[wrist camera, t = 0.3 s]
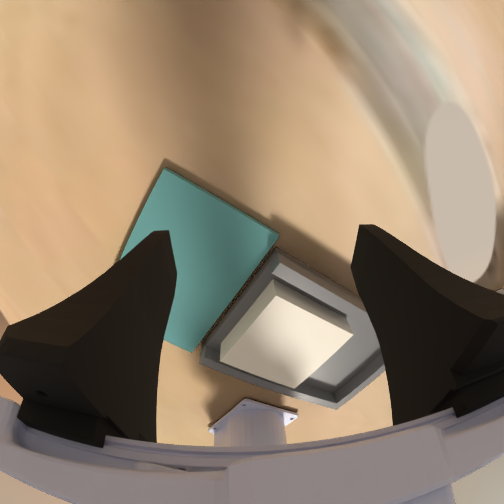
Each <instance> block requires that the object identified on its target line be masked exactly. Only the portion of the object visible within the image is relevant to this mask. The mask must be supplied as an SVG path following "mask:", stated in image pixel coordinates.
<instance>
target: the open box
mask: <svg viewBox="0 0 504 504" xmlns="http://www.w3.org/2000/svg"><path fill="white" fill-rule="evenodd" d="M273 279H274V280H276V281H278V282H280V283H282V284H283V285H285V286H287V287H289V288H291V289H293V290H294V291H296V292H298V293H300V294H302V295H304V296H306V297H307V298H309V299H311V300H313V301H315V302H317V303H319V304H320V305H322V306H324V307H326V308H328V309H330V310H332V311H333V312H335V313H337V314H339V315H341V316H343V317H345V318H346V319H347V321H348V323H349V326H350V328H351V330H352V332H353V336H352V337H351V338H350V339H349V340H348V341H347V342H346V343H345V344H344V345H343V346H341V347H340V348H339V349H338V350H337V351H336V352H335V353H334V354H333V355H332V356H331V357H330V358H329V359H328V360H327V361H326V362H324V363H323V364H322V365H321V366H320V367H319V368H318V369H317V370H316V371H314V372H313V373H312V374H311V375H310V376H309V377H308V378H306V379H305V380H304V381H303V382H302V383H301V384H299V385H298V386H297V387H296V388H295V389H294V388H291V387H288V386H285V385H282V384H279V383H276V382H273V381H271V380H268V379H265V378H262V377H260V376H257V375H254V374H251V373H249V372H246V371H244V370H241V369H238V368H236V367H233V366H231V365H228V364H226V363H223V362H221V361H220V350H221V343H222V341H223V340H224V339H225V338H226V337H227V335H228V334H229V333H230V332H231V330H232V329H233V328H234V327H235V326H236V324H237V323H238V322H239V321H240V319H241V318H242V317H243V316H244V315H245V313H246V312H247V311H248V310H249V308H250V307H251V306H252V305H253V303H254V302H255V301H256V300H257V298H258V297H259V296H260V295H261V293H262V292H263V291H264V290H265V288H266V287H267V286H268V285H269V283H270V282H271V281H272V280H273ZM199 364H202V365H204V366H207V367H209V368H211V369H214V370H216V371H219V372H222V373H224V374H227V375H229V376H232V377H235V378H237V379H240V380H243V381H245V382H248V383H251V384H254V385H257V386H259V387H262V388H265V389H268V390H271V391H274V392H277V393H280V394H284V395H287V396H290V397H293V398H296V399H300V400H303V401H307V402H310V403H314V404H317V405H321V406H324V407H328V408H332V409H336V410H337V409H338V408H339V407H341V406H342V405H343V404H345V403H346V402H347V401H349V400H350V399H351V398H353V397H354V396H355V395H356V394H358V393H359V392H360V391H361V390H363V389H364V388H365V387H366V386H367V385H369V384H370V383H371V382H372V381H373V380H375V379H376V378H377V377H378V376H379V375H380V374H382V373H383V372H384V371H385V365H384V361H383V357H382V353H381V349H380V345H379V342H378V339H377V336H376V333H375V330H374V328H373V325H372V323H371V321H370V318H369V316H368V314H367V311H366V309H365V307H364V304H363V302H362V300H361V298H360V297H359V296H357V295H356V294H354V293H352V292H351V291H349V290H347V289H346V288H344V287H342V286H341V285H339V284H337V283H336V282H334V281H332V280H331V279H329V278H327V277H326V276H324V275H322V274H321V273H319V272H317V271H316V270H314V269H312V268H311V267H309V266H307V265H306V264H304V263H302V262H301V261H299V260H297V259H296V258H294V257H292V256H291V255H289V254H287V253H286V252H284V251H282V250H281V249H279V248H277V247H276V248H275V249H274V250H273V252H272V253H271V254H270V256H269V257H268V258H267V260H266V261H265V262H264V264H263V265H262V266H261V268H260V269H259V270H258V272H257V273H256V274H255V276H254V277H253V278H252V280H251V281H250V282H249V283H248V285H247V286H246V287H245V289H244V290H243V291H242V293H241V294H240V295H239V297H238V298H237V299H236V301H235V302H234V303H233V305H232V306H231V307H230V308H229V310H228V311H227V312H226V314H225V315H224V316H223V318H222V319H221V320H220V321H219V323H218V324H217V325H216V327H215V328H214V329H213V331H212V332H211V333H210V334H209V336H208V337H207V338H206V340H205V341H204V342H203V343H202V347H201V355H200V362H199Z"/></svg>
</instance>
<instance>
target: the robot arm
mask: <svg viewBox="0 0 504 504" xmlns="http://www.w3.org/2000/svg"><path fill="white" fill-rule="evenodd" d="M351 270H352V274H353V277H354V281H355V284H356V288H357V290H358V293H359V295H360V297H361V300H362V302H363V304H364V307H365V309H366V311H367V314H368V316H369V318H370V321H371V323H372V325H373V328H374V330H375V333H376V336H377V339H378V342H379V345H380V349H381V353H382V357H383V361H384V365H385V370H386V375H387V380H388V386H389V393H390V399H391V408H392V420H393V426H391V427H387V428H383V429H379V430H374V431H370V432H365V433H360V434H355V435H350V436H345V437H339V438H333V439H326V440H319V441H312V442H303V443H294V444H287V441H286V433H285V426H286V425H288V424H289V423H291V422H292V421H293V420H295V419H296V418H297V417H298V413H295V412H291V411H287V410H284V409H280V408H277V407H273V406H270V405H267V404H263V403H260V402H257V401H254V400H251V399H243V400H242V401H241V402H240V403H239V404H238V405H236V406H235V407H234V408H233V409H232V410H230V411H229V412H228V413H227V414H226V415H225V416H223V417H222V418H221V419H220V420H218V421H217V422H216V423H215V424H214V425H212V426H211V427H210V428H209V430H208V431H209V432H211V433H214V434H215V435H214V447H209V446H187V445H173V444H163V443H157V439H156V407H157V387H158V373H159V364H160V355H161V349H162V344H163V339H164V335H165V331H166V327H167V323H168V320H169V316H170V312H171V308H172V304H173V300H174V296H175V289H176V281H177V269H176V264H175V259H174V254H173V249H172V243H171V238H170V233H169V230H158V231H153V232H151V233H150V234H149V235H148V236H146V237H145V238H144V239H143V240H142V241H141V242H140V243H138V244H137V245H136V246H135V247H134V248H133V249H132V250H131V251H130V252H128V253H127V254H126V255H125V256H124V257H123V258H122V259H120V260H119V261H118V262H117V263H116V264H114V265H113V266H112V267H111V268H110V269H108V270H107V271H106V272H105V273H104V274H102V275H101V276H100V277H98V278H97V279H96V280H94V281H93V282H92V283H90V284H89V285H87V286H86V287H84V288H83V289H81V290H80V291H78V292H77V293H75V294H73V295H72V296H70V297H68V298H67V299H65V300H63V301H62V302H60V303H58V304H56V305H54V306H53V307H51V308H49V309H47V310H45V311H43V312H41V313H39V314H36V315H34V316H32V317H29V318H27V319H24V320H22V321H20V322H17V323H15V324H12V325H9V326H8V327H7V328H6V330H5V332H4V334H3V336H2V338H1V340H0V374H1V375H2V376H3V377H4V379H6V381H7V382H8V383H9V384H10V385H11V386H12V387H13V388H14V389H15V390H16V391H17V392H18V393H19V394H20V395H21V396H22V397H23V401H22V404H21V406H20V405H19V404H17V403H16V402H14V401H12V400H10V399H7V398H4V397H1V396H0V470H1V471H2V472H4V473H6V474H8V475H10V476H12V477H13V478H15V479H18V480H19V481H22V482H23V483H25V484H27V485H29V486H32V487H34V488H36V489H38V490H40V491H43V492H45V493H47V494H50V495H52V496H54V497H57V498H60V499H62V500H65V501H68V502H70V503H73V504H456V503H455V499H454V495H453V491H452V487H451V483H453V482H455V481H457V480H459V479H461V478H463V477H465V476H467V475H469V474H471V473H473V472H474V471H476V470H478V469H480V468H482V467H483V466H485V465H487V464H488V463H490V462H492V461H493V460H495V459H497V458H498V457H500V456H501V455H503V454H504V294H501V293H498V292H495V291H492V290H489V289H487V288H484V287H482V286H479V285H477V284H474V283H472V282H470V281H468V280H465V279H463V278H461V277H459V276H457V275H455V274H453V273H451V272H450V271H448V270H446V269H444V268H442V267H440V266H439V265H437V264H435V263H434V262H432V261H430V260H429V259H427V258H426V257H424V256H422V255H421V254H419V253H418V252H416V251H415V250H413V249H412V248H410V247H409V246H407V245H406V244H404V243H403V242H401V241H400V240H398V239H397V238H395V237H394V236H392V235H391V234H389V233H388V232H386V231H384V230H383V229H381V228H379V227H378V226H376V225H373V224H369V225H359V229H358V234H357V240H356V245H355V250H354V254H353V259H352V264H351Z"/></svg>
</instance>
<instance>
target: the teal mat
mask: <svg viewBox="0 0 504 504" xmlns="http://www.w3.org/2000/svg"><path fill="white" fill-rule="evenodd" d="M158 230H169V233H170V238H171V243H172V249H173V254H174V259H175V264H176V269H177V281H176V289H175V296H174V300H173V304H172V308H171V312H170V316H169V320H168V323H167V327H166V331H165V335H164V339H163V340H165V341H167V342H169V343H172V344H174V345H176V346H178V347H180V348H183V349H185V350H187V351H189V352H191V353H192V352H193V351H194V349H195V348H196V347H197V345H198V344H199V343H200V341H201V340H202V339H203V337H204V336H205V335H206V333H207V332H208V331H209V330H210V328H211V327H212V326H213V324H214V323H215V322H216V320H217V319H218V318H219V316H220V315H221V314H222V312H223V311H224V310H225V308H226V307H227V306H228V304H229V303H230V302H231V301H232V299H233V298H234V297H235V295H236V294H237V293H238V291H239V290H240V289H241V287H242V286H243V285H244V283H245V282H246V281H247V279H248V278H249V277H250V275H251V274H252V273H253V271H254V270H255V269H256V267H257V266H258V265H259V263H260V262H261V261H262V259H263V258H264V257H265V255H266V254H267V252H268V251H269V250H270V248H271V247H272V246H273V244H274V243H275V242H276V240H277V239H278V238H279V234H278V233H277V232H275V231H274V230H272V229H270V228H269V227H267V226H265V225H264V224H262V223H260V222H259V221H257V220H255V219H254V218H252V217H250V216H249V215H247V214H245V213H244V212H242V211H240V210H239V209H237V208H235V207H234V206H232V205H230V204H228V203H227V202H225V201H223V200H222V199H220V198H218V197H217V196H215V195H213V194H211V193H210V192H208V191H206V190H205V189H203V188H201V187H199V186H198V185H196V184H194V183H192V182H191V181H189V180H187V179H185V178H184V177H182V176H180V175H178V174H177V173H175V172H173V171H171V170H170V169H168V168H164V169H163V171H162V173H161V175H160V177H159V179H158V181H157V182H156V184H155V186H154V188H153V190H152V192H151V194H150V196H149V198H148V200H147V202H146V204H145V206H144V208H143V210H142V212H141V214H140V216H139V218H138V220H137V223H136V225H135V227H134V229H133V231H132V233H131V235H130V238H129V240H128V242H127V244H126V247H125V249H124V251H123V253H122V256H121V258H120V259H122V258H123V257H124V256H125V255H126V254H127V253H128V252H130V251H131V250H132V249H133V248H134V247H135V246H136V245H137V244H138V243H140V242H141V241H142V240H143V239H144V238H145V237H146V236H148V235H149V234H150V233H151V232H153V231H158Z"/></svg>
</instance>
